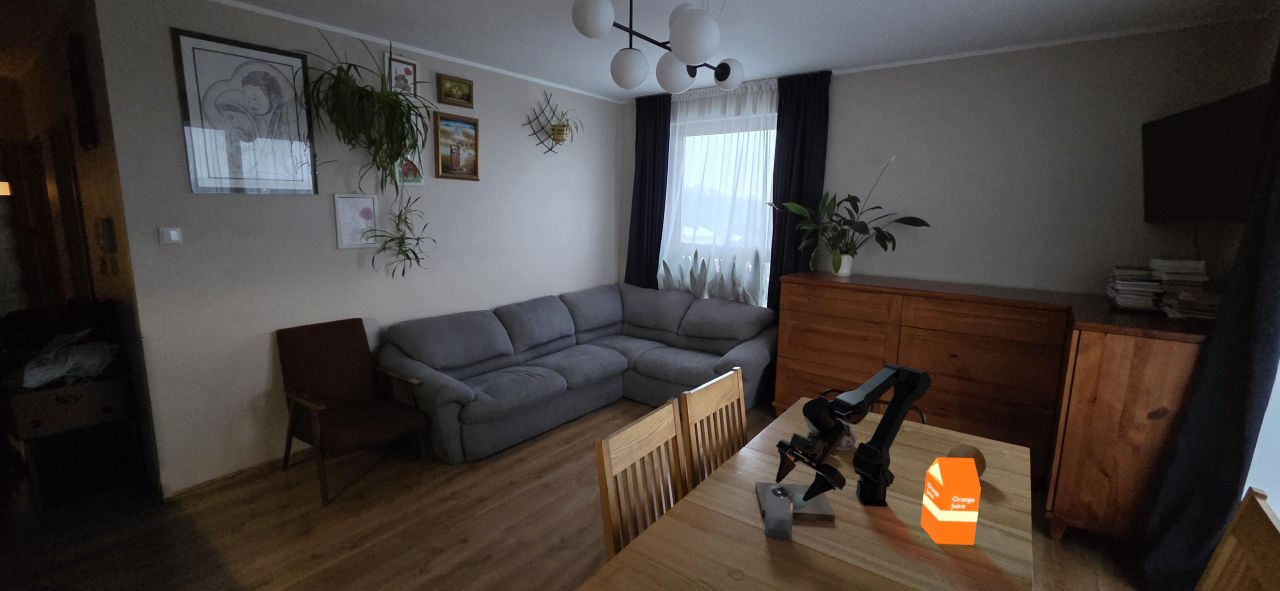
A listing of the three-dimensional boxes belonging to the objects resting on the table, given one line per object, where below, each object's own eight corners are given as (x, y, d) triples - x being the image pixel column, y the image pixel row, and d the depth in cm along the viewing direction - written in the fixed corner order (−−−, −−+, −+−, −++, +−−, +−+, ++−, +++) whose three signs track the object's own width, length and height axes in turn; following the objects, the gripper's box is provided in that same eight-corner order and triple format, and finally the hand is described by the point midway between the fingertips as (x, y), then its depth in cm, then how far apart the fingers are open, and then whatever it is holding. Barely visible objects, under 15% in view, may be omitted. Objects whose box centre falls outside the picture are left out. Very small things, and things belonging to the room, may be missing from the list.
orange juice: (919, 524, 130) (928, 449, 126) (955, 525, 129) (964, 450, 126) (936, 544, 122) (945, 465, 119) (974, 545, 122) (984, 466, 118)
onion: (951, 483, 150) (955, 451, 148) (941, 467, 159) (944, 436, 158) (989, 488, 147) (993, 455, 146) (976, 471, 157) (980, 440, 155)
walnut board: (820, 492, 144) (821, 485, 143) (834, 522, 130) (835, 514, 130) (755, 488, 146) (755, 481, 145) (762, 517, 132) (762, 509, 131)
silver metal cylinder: (788, 525, 128) (791, 486, 127) (793, 541, 122) (796, 500, 120) (762, 523, 129) (764, 484, 127) (766, 539, 123) (768, 498, 121)
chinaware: (798, 430, 189) (796, 386, 187) (845, 428, 187) (844, 384, 185) (814, 466, 162) (811, 416, 160) (869, 465, 160) (868, 414, 157)
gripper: (783, 409, 133) (747, 457, 130) (841, 437, 117) (802, 493, 114) (804, 432, 138) (769, 480, 135) (862, 462, 122) (825, 517, 118)
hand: (789, 491), depth 125 cm, fingers open, 9 cm apart
